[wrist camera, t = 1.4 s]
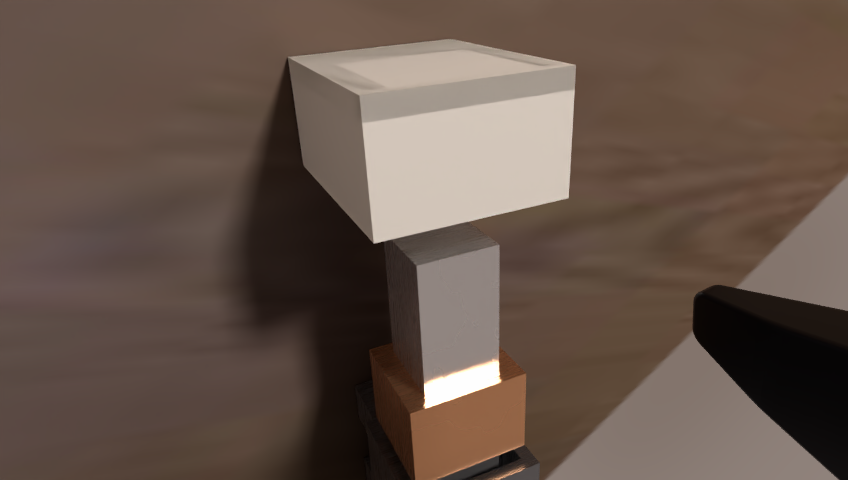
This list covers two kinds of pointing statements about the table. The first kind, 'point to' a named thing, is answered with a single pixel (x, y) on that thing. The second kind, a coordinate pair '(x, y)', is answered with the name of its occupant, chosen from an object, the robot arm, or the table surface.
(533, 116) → the socket block
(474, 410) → the grey and copper post
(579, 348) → the table surface
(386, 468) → the metal sleeve
